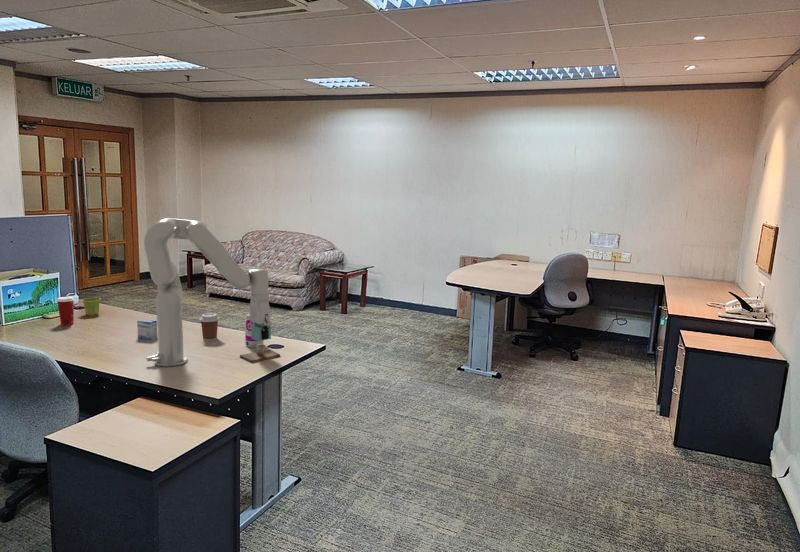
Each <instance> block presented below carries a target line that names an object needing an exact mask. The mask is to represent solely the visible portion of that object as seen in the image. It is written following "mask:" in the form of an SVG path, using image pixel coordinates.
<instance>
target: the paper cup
mask: <svg viewBox="0 0 800 552" xmlns="http://www.w3.org/2000/svg"><path fill="white" fill-rule="evenodd" d="M74 301H75V299H74V297H73V296H61V297H58V298H57V300H56V302H57V305H58V315H59V321H60V325H61V326H71V325H70V324H72V325H74V311H75V309H74V308H75V307H74V306H75V305H74Z"/></svg>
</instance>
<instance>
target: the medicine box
mask: <svg viewBox="0 0 800 552" xmlns="http://www.w3.org/2000/svg"><path fill="white" fill-rule="evenodd" d="M136 321H137V322H136V323H137V338H138V339H141V338H142V340H154V339H155V340H156V339H158V327H157V320H155V319H154V320H153V319H145V318H144V319H143V318H142V319H139V320H136Z"/></svg>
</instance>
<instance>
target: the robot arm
mask: <svg viewBox="0 0 800 552" xmlns="http://www.w3.org/2000/svg"><path fill="white" fill-rule="evenodd" d="M172 239H175V240H176V239H177V240H188V241H189V242H190V243H191V244H192V245H193V246H194V247H195V248H196V249H197V250H198V251H200V253H201V254H202V255H203V256H204V257H205V258H206V259H207V260H208V261H209V262H210V264H211V265H212V266H213V267H215V268H216V270H217V271H218V272H219V273H220V274H221V276H223V278H224V279H225V280H227V281H228V282H229V284H231V285H232V286H233V288H235V289H238V290H244V289H246V288H248V286H250V302H249V313H250V321H251V322H252V324H253V325H255V324H259V325H261V327H262V331H261V335H262V340H263V341H265V340H264V339H268V338H269V327H270V325H272V322H271V311H270V302H269V298H270V297H269V291H270V290H269V272H268V270H267V269H266V268H242V267H241V266H240V265H239V264H238V263H237V262H236V260H235V259H233V257H232V256H231V255H230V253H229V251H228V249H227V248H226V247H225V245H224V244H223V243H222V242H221V241H220V240H219V239H217V237H216V236H214V234H213V233H212V232H211V231H210V229H208V225H206V224H205V223H204V222H203V221H200V220H191V219H182V218H181V219H180V218H172V217H166V218H163V219H162V218H161V219H160V220H158V221H156V222H155V223H154V224H152V225H151V226H150V227H149V229H147V231H146V233H145V235H144V239H143V245H144V250H145V254H146V260H147V265H148V268H149V273H150V277H151V280H152V282H153V283H154V284H155V285H156V287H157V292H158V293H157V295H156V298H155V311H156V312H155V313H156V321H157V343H158V351H157V352H156V354H154V355H149V356H146V362H153V363H154V364H155V365H156V366H158V367H177V366H181V365H184V364H185V363H187V362H188V357H187V356H185V355H184V339H183V338H184V336H183V334H184V332H183V314H182V313H183V312H182V301H183V298H184V291H183V287H182V282H181V279H180V275H179V272H178V271H179V270H178V268H177V266H176V265H175V263H173V261H172V260H171V256H170V251H169V248H168V242H169V241H170V240H172ZM265 324H266V325H265ZM264 325H265V327H264ZM268 340H269V339H268Z"/></svg>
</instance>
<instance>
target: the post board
mask: <svg viewBox="0 0 800 552" xmlns="http://www.w3.org/2000/svg"><path fill="white" fill-rule="evenodd" d="M279 357H280V358H281V354H280V353H278V352H275V351H273V350H271V349H264V344H257V347H256V351H253V352H249V353H243V354H240V355H239V358H241V359H243V360H245V361H247V362H249V363H251V364H253V363H257V362H261V361H266V360H267V361H268V360H271V359H274V358H275V359H276V358H279Z"/></svg>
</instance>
